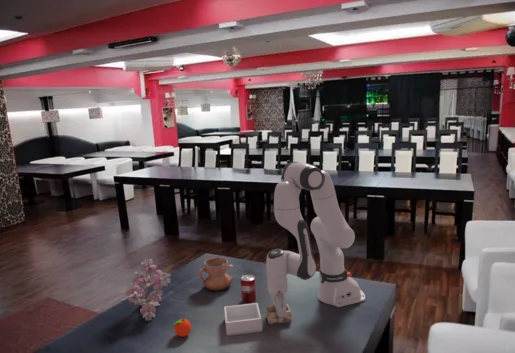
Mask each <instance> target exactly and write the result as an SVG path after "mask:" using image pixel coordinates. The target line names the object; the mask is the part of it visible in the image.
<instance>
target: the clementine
mask: <svg viewBox="0 0 515 353" xmlns="http://www.w3.org/2000/svg"><path fill="white" fill-rule="evenodd" d="M173 327H174V332H175V334H176V335H177V336H178V337H183V338H184V337H187V336H188V335H189V334H190V333H191V330H192V324H191V322H190V321H189V320H188V319H186V318H181V319H179V320H177V321H176V322H174V323H173V325H172V327H171V328H173Z"/></svg>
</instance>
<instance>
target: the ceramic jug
mask: <svg viewBox="0 0 515 353" xmlns="http://www.w3.org/2000/svg"><path fill="white" fill-rule="evenodd" d="M228 263H229V260H228V259H227V257H223V256H221V257H220V256H219V257H212V258H208V259H206V260H205V261H204V263H203V264H204V267H205V268H201V269H199V270H198V277H199V279H200V280H201V282H202V284H203V285H204V287H205V288H206V289H208V290H211V291H221V290H225V289H227V288H228V287H229V286H230V285H231V284H232V280H233V276H231V275H230V274H228V273H226V272H227V270H228V269H230V268H233V264H228ZM202 272H204V273H206V274H208V275H207V276H206V277H205V278H203V276H202Z"/></svg>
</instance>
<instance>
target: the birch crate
mask: <svg viewBox="0 0 515 353" xmlns="http://www.w3.org/2000/svg"><path fill="white" fill-rule="evenodd" d="M265 310H266V311H265V312H266V314H265V315H266V319H267V324H268V325H275V324H283V323H290V322H292V311H291V309H290V306H289V304H287V303H286V312H287V315H286V317H283V322H279V320H278V315H277V312H276V309H275V306H274V305H270V306H266V307H265Z"/></svg>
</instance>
